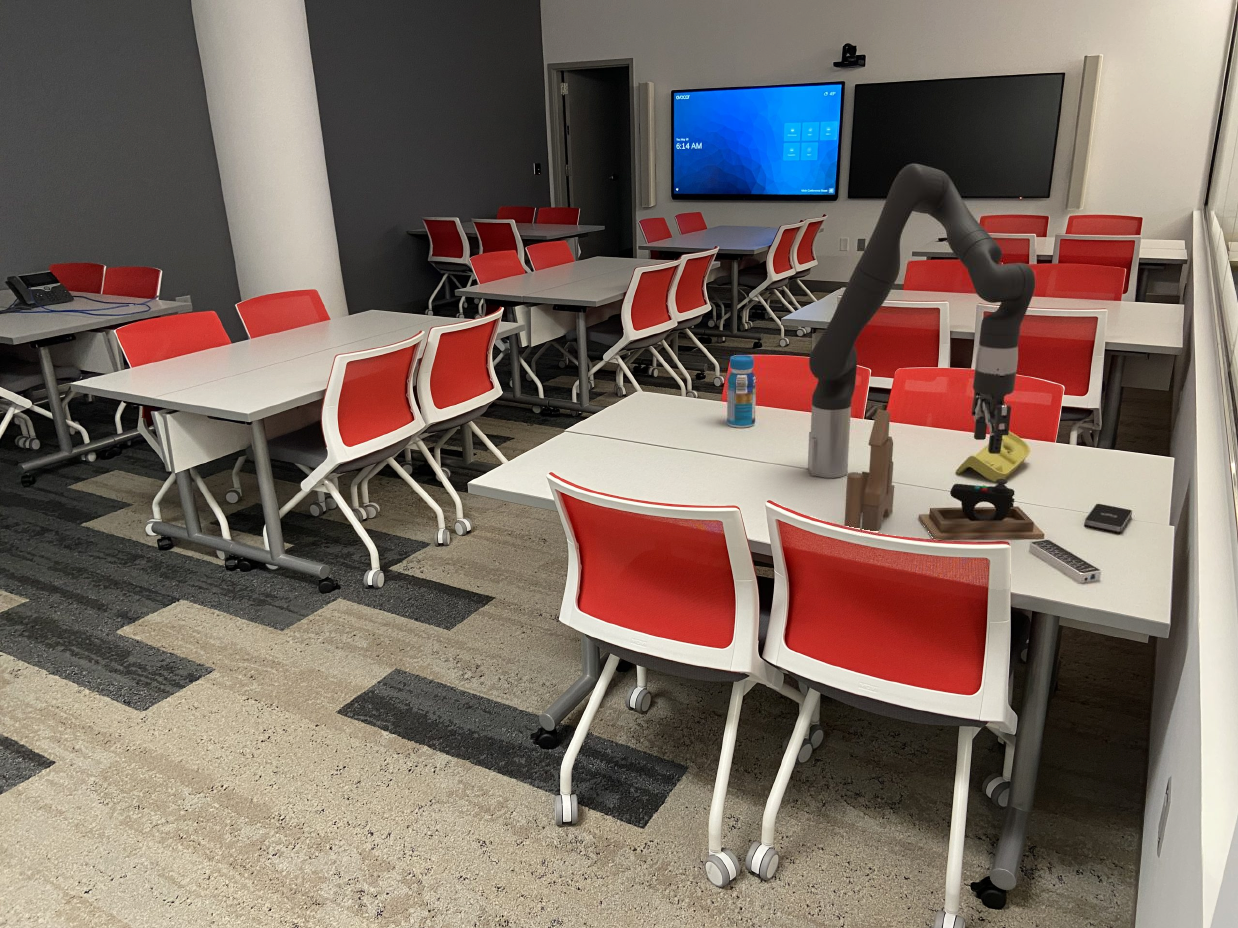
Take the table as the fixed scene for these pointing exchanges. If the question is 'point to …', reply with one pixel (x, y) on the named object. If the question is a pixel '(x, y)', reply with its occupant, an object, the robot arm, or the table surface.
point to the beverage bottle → (741, 392)
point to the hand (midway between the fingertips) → (986, 446)
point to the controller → (984, 499)
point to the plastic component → (998, 458)
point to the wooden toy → (872, 481)
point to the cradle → (979, 525)
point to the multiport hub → (1065, 561)
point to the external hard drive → (1108, 518)
